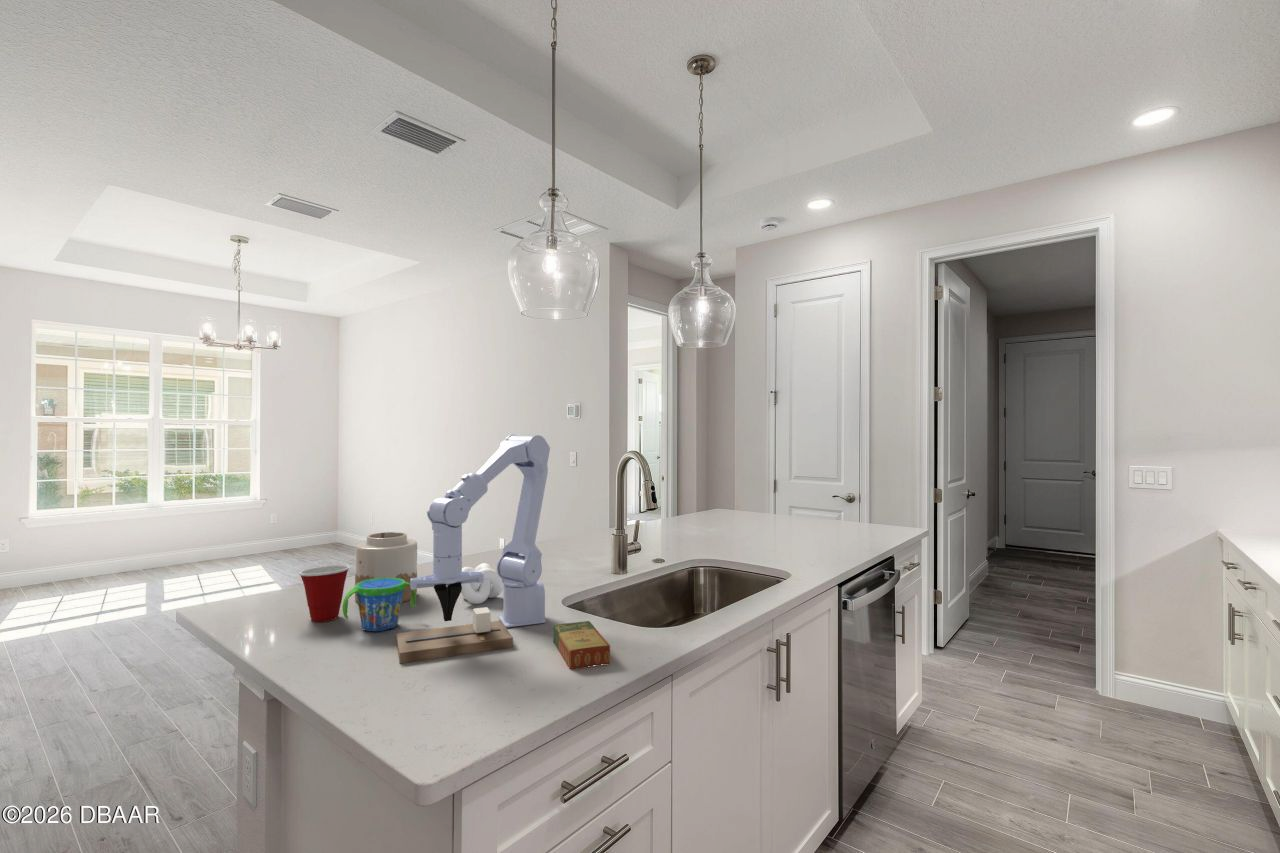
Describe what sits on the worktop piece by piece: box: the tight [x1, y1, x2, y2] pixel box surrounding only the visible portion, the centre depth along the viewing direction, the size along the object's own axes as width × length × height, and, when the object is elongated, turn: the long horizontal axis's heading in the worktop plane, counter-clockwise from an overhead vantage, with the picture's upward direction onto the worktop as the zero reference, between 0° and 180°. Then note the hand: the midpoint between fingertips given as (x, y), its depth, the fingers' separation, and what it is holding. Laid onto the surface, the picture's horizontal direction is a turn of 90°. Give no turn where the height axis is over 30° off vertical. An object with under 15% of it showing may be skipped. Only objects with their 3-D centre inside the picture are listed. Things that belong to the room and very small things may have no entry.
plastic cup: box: [298, 564, 350, 623], centre depth 144 cm, size 11×11×12 cm
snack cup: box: [342, 578, 417, 632], centre depth 138 cm, size 16×10×10 cm
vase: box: [354, 531, 418, 604], centre depth 161 cm, size 15×15×17 cm
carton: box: [552, 620, 611, 670], centre depth 124 cm, size 8×16×4 cm, turn 19°
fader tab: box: [472, 606, 492, 633], centre depth 129 cm, size 3×4×4 cm
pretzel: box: [460, 562, 504, 605], centre depth 160 cm, size 11×12×9 cm
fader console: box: [396, 620, 514, 664], centre depth 127 cm, size 22×12×2 cm, turn 114°
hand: (447, 619), depth 126 cm, fingers closed
